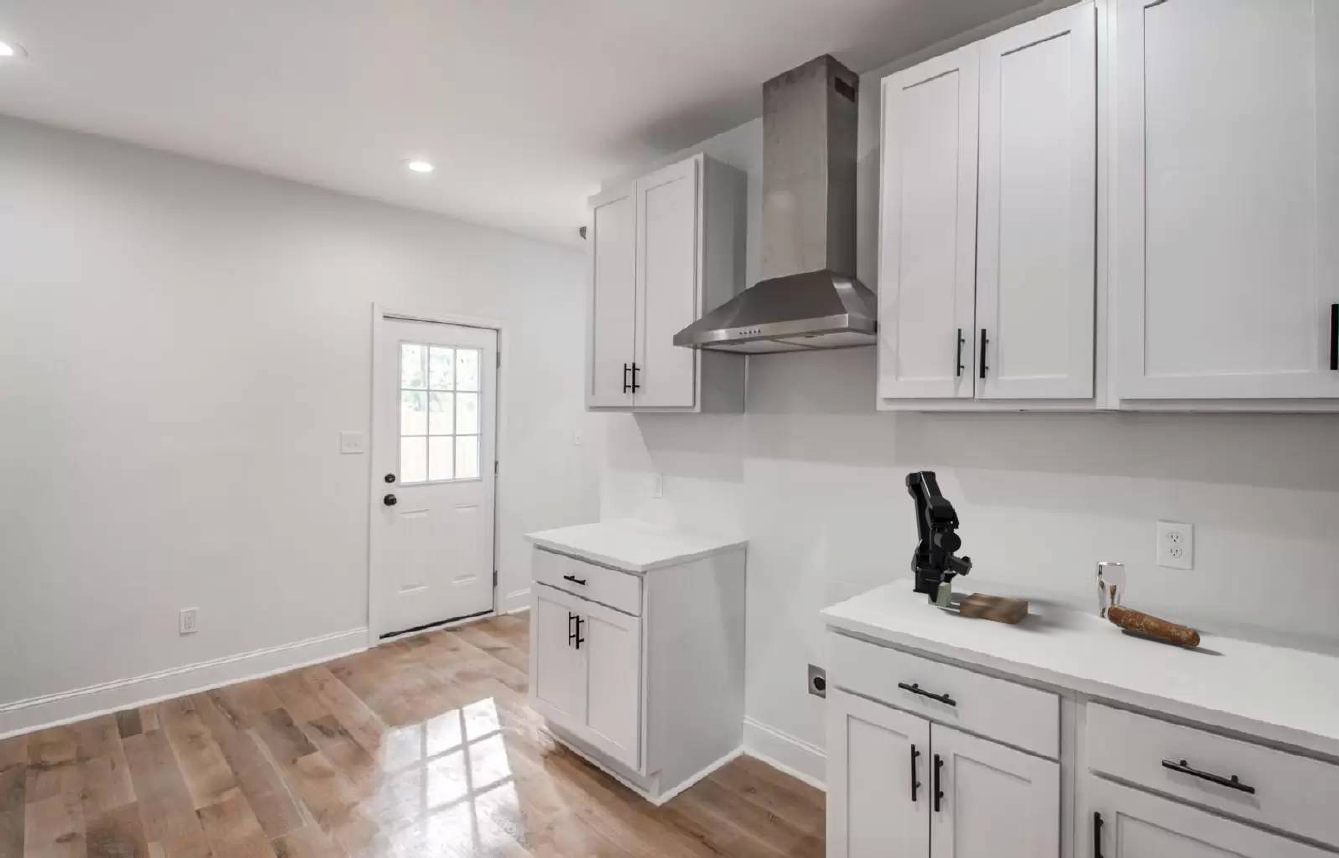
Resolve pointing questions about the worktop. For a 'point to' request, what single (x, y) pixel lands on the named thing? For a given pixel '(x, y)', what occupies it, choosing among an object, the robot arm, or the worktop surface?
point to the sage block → (942, 595)
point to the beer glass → (1109, 586)
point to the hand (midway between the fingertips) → (939, 599)
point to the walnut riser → (994, 608)
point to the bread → (1151, 625)
